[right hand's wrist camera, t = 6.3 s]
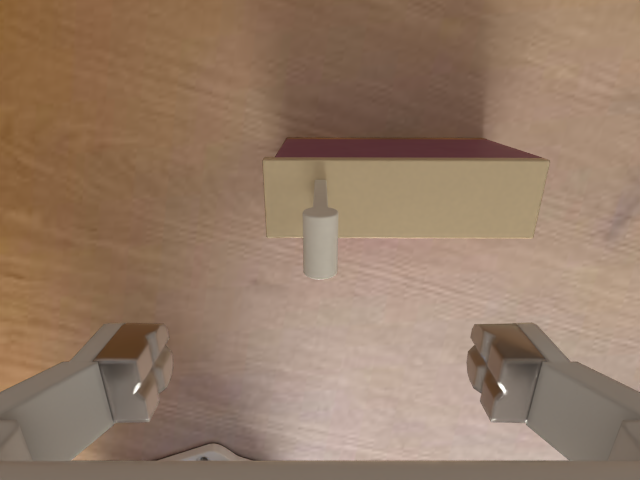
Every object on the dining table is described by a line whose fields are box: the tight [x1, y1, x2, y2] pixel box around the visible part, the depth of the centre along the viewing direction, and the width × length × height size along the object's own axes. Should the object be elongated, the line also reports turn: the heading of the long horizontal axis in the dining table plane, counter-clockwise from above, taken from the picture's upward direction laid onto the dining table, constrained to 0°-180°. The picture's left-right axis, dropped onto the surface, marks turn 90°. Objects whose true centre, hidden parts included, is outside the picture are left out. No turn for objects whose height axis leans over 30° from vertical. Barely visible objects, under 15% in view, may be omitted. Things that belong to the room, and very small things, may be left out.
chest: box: [275, 138, 542, 158], centre depth 28 cm, size 16×5×9 cm, turn 90°
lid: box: [262, 157, 550, 280], centre depth 20 cm, size 17×5×8 cm, turn 90°
